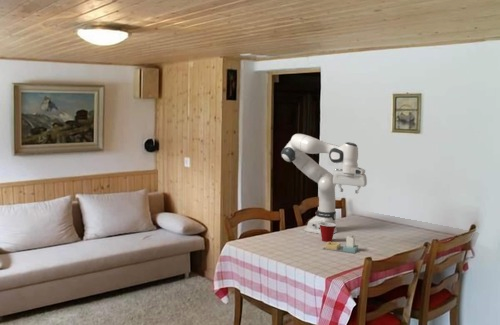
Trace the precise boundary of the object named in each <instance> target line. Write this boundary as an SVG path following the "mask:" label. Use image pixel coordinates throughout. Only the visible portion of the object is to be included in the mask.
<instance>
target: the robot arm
mask: <svg viewBox="0 0 500 325" xmlns="http://www.w3.org/2000/svg"><path fill="white" fill-rule="evenodd" d="M309 154H310V155H311V154H312V155H314V154H315V155H318V154H328V156H329V157H328V158H329V159H330V161H331V163H335V164H340V163H341V164H342V168H335V169H334V170H333V172H332V173H331V172H330V171H328V170H327V169H325V168H324V167H323V166H321V165H320V164H319V163H318V162H316V161H315V160H314V159H313V158H312V157H310V156H309ZM280 156H281V158H282V159H283V160H284V161H285V162H287V163H293V165H295V166H296V168H297V169H298V170H299V171H301V172H302V173H303V174H304V175H305V176H307V177H308V178H309V179H310V180H312V181H313V182H315V183H317V187H318V189H317V190H318V209H317V210H316V211H315V216H313V217H312V218H311V219H309V220H308V222H307V225H306V226H305V227H304V228H303V231H304V232H309V233H313V234H314V233H315V234H320V235H321V229H320V224H319V223H320V222H328V223H333V224H336V219H337V212H336V185H338V188H339V192H341V193H343V192H344V188H342V186H343V185H344V186H354V187H356V188H357V189H355V193H354V194H358V193H359V191H360V189H361V187H366V186H367V184H368V183H367V182H368V181H367V180H368V179H367V174H366V169H364V168H362V167H359V164H358V160H359V147H358V145H357V144H356V143H354V142H347V141H346V142H344V143H343V144H342V145H336V144H332V143H329V142H326V141H323V140H320V139H318V138H316V137H313V136H311V135H307V134H304V133H300V132H299V133H295V134H293V135H292V136H291V138H290V140H289V141H288V143H286V145H285V146H284V147H283V148H282V150H281V152H280ZM336 225H337V224H336ZM335 233H338V230H337V226H336V227H335V229H334V234H335Z"/></svg>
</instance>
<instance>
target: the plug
mask: <svg viewBox="0 0 500 325" xmlns="http://www.w3.org/2000/svg"><path fill="white" fill-rule="evenodd" d="M345 245H346V247H351V248H354V247H355V245H356V236H354V234H349V235H348V236H346V244H345Z"/></svg>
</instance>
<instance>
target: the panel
mask: <svg viewBox="0 0 500 325" xmlns="http://www.w3.org/2000/svg"><path fill="white" fill-rule="evenodd" d="M322 250H324V251H332V252H338V253H339V252H340V253H346V254H353V255H356V254H357V253H358V252H359V251H360V250H361V248H359V245H356V244H355V247H354V248H351V247H346V244H345V245H341V242H335V241H331V242H325V244H324V247H323V248H322Z"/></svg>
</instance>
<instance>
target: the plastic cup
mask: <svg viewBox="0 0 500 325" xmlns="http://www.w3.org/2000/svg"><path fill="white" fill-rule="evenodd" d="M319 224H320V229H321V234H320V235H321V236H320V237H321V241H322V242H324V243H328V242H333V238H334V234H335V233H334V229H335V227H336V228H337V224H333V223H328V222H320V223H319Z"/></svg>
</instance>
